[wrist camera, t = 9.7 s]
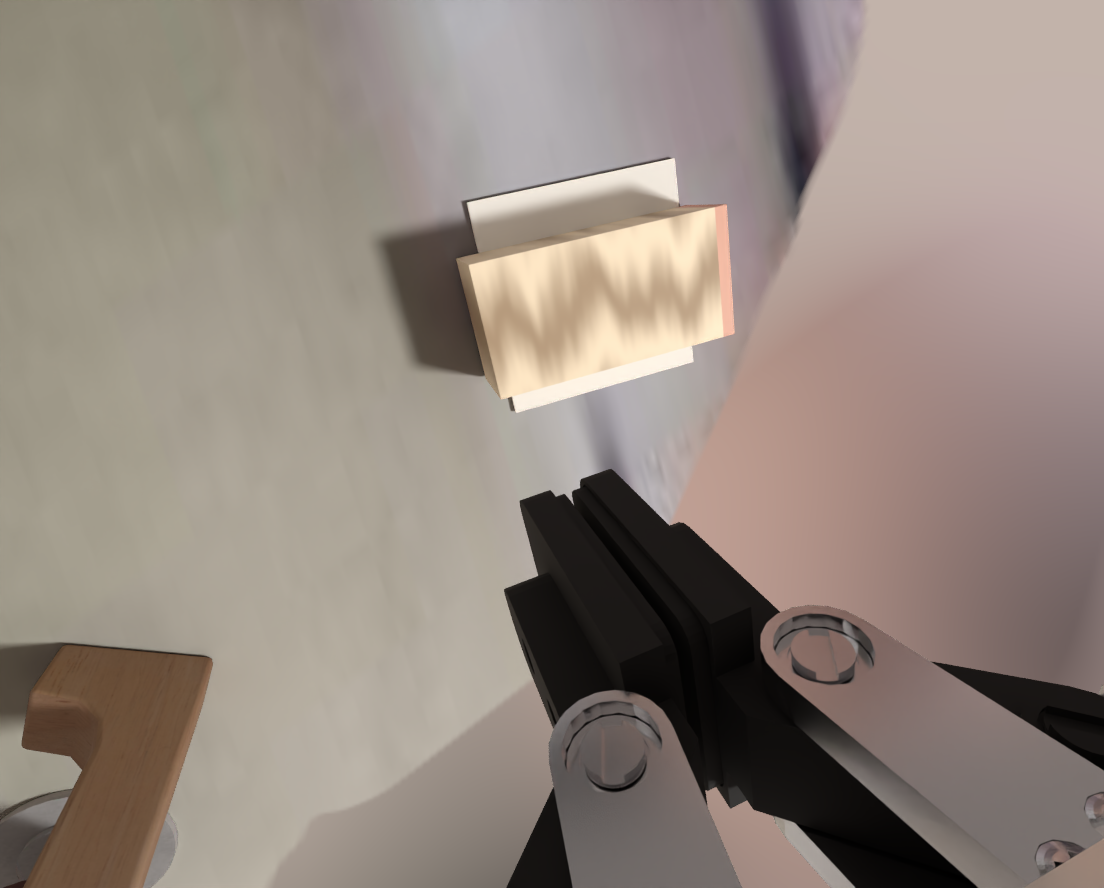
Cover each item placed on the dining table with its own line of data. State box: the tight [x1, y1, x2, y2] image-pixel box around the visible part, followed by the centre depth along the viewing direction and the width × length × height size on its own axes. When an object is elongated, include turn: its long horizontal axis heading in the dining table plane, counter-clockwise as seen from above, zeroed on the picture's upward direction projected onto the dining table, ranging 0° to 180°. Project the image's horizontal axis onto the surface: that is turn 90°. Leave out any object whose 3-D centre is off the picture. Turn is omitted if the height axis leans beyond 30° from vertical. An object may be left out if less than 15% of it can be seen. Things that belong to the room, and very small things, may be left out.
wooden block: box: [22, 645, 213, 888], centre depth 33 cm, size 9×4×18 cm, turn 69°
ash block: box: [456, 204, 734, 399], centre depth 38 cm, size 8×5×16 cm
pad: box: [467, 158, 693, 413], centre depth 40 cm, size 14×14×1 cm
